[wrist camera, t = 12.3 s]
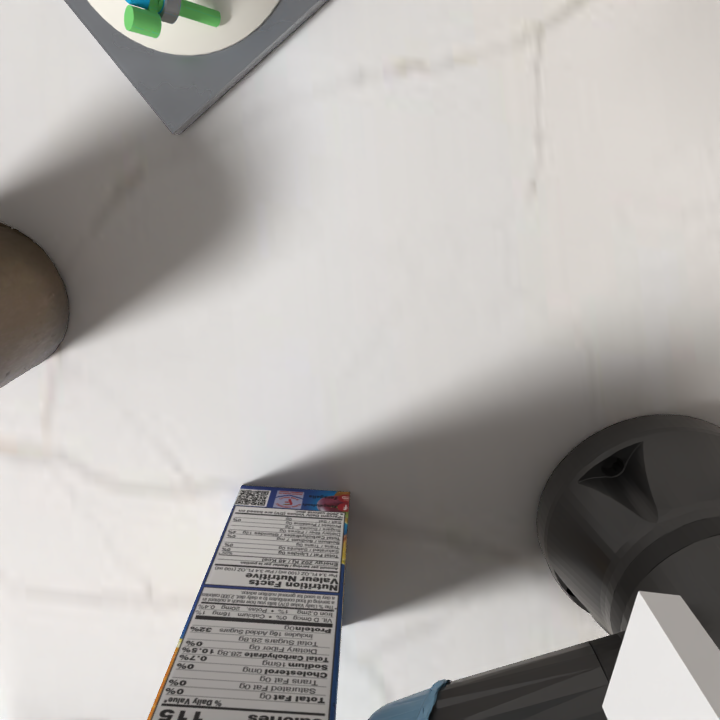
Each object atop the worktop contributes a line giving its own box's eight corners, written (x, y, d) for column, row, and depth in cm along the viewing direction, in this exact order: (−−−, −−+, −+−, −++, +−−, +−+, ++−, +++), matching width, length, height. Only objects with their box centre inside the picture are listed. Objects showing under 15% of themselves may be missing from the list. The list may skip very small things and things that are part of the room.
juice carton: (341, 628, 44) (308, 1133, 21) (243, 622, 44) (103, 1120, 21) (349, 490, 40) (320, 927, 17) (242, 483, 40) (68, 911, 17)
